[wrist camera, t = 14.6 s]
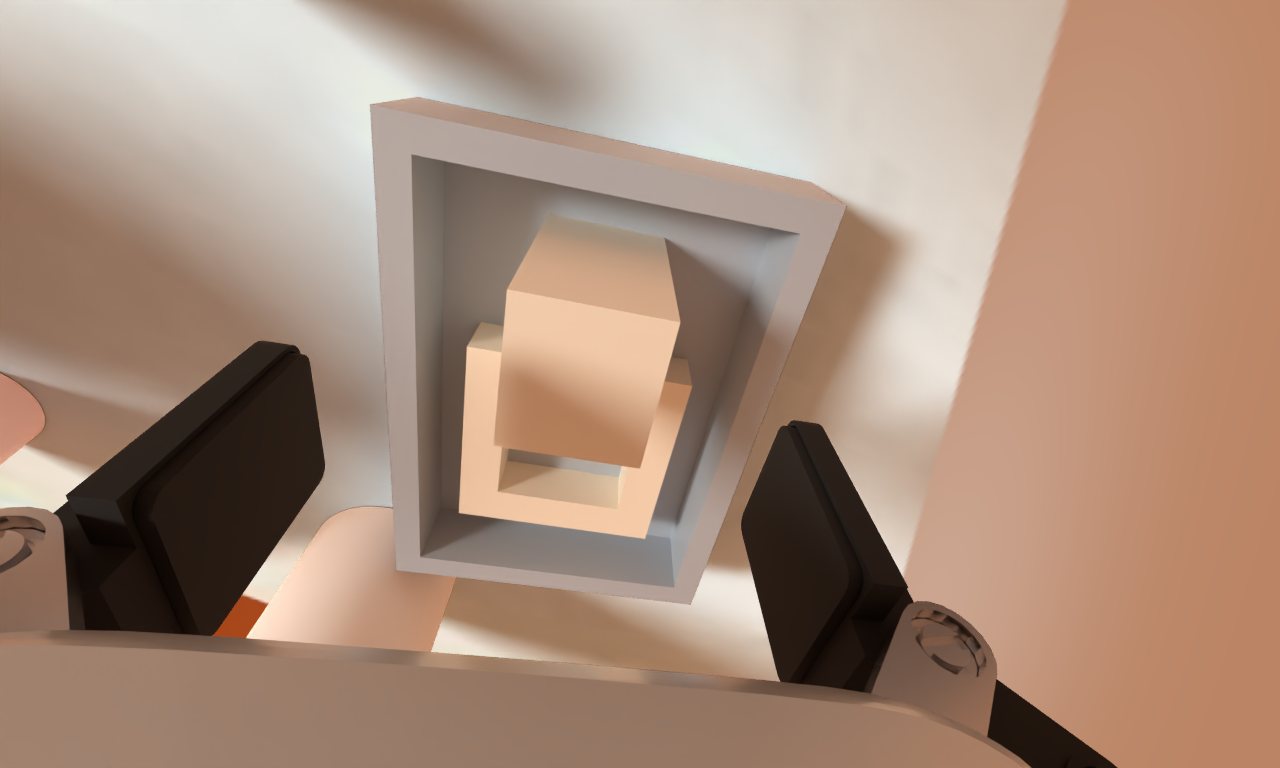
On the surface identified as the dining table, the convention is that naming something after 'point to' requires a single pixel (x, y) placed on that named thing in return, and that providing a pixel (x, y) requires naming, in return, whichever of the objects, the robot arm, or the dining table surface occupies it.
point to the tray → (476, 292)
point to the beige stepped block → (577, 383)
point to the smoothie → (17, 417)
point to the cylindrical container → (356, 590)
